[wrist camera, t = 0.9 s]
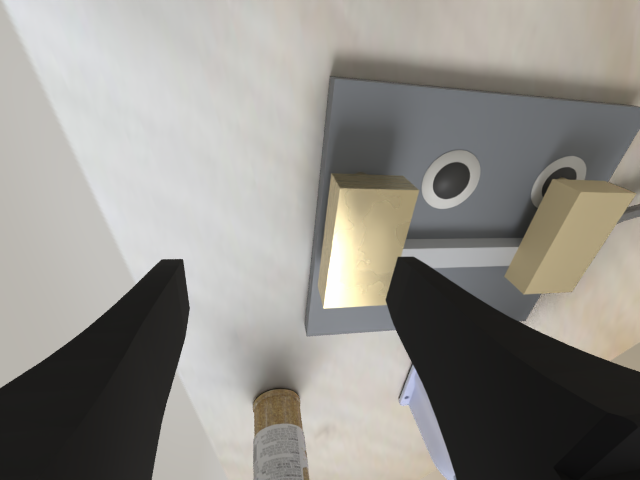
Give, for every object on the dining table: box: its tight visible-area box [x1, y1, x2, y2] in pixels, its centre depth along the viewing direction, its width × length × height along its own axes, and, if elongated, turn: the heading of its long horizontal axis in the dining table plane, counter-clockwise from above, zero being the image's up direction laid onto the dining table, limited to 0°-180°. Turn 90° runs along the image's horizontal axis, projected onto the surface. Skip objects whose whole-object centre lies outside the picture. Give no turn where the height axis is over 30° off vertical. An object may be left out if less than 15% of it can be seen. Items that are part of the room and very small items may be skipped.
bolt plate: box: [305, 76, 640, 336], centre depth 21 cm, size 18×20×4 cm
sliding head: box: [318, 172, 419, 308], centre depth 18 cm, size 8×4×3 cm, turn 174°
